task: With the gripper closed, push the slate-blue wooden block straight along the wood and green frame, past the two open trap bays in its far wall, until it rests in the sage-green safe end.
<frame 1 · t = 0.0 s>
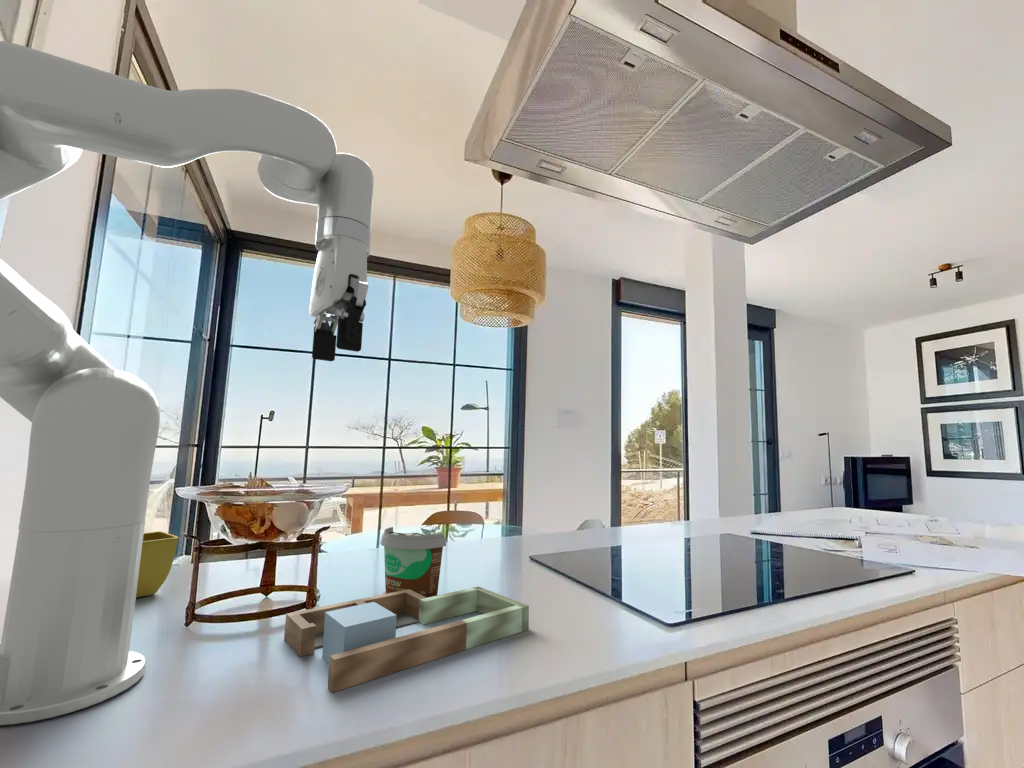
hand: (335, 355, 66), 37 cm above the worktop, tool pointing down, fingers open, 9 cm apart
flower pot: (130, 597, 74), on the worktop
block: (358, 660, 53), on the worktop
wood and green frame: (413, 642, 57), on the worktop
food container: (402, 596, 76), on the worktop
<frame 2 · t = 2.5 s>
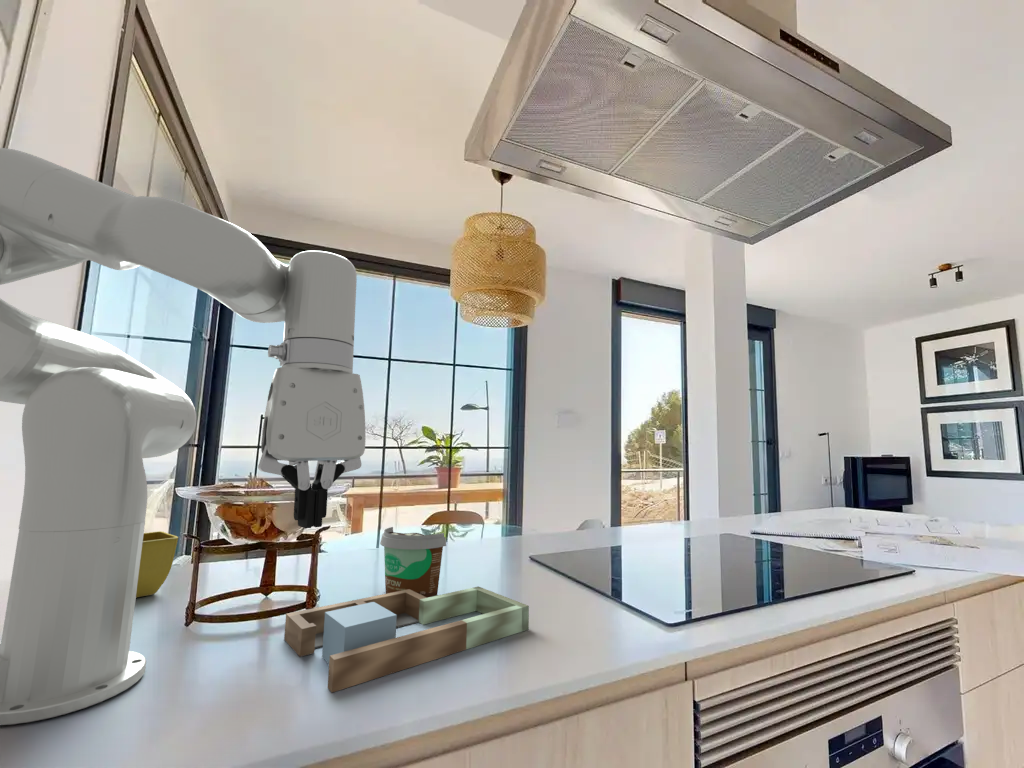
hand: (309, 525, 51), 15 cm above the worktop, tool pointing down, fingers closed
nothing on the worktop moved.
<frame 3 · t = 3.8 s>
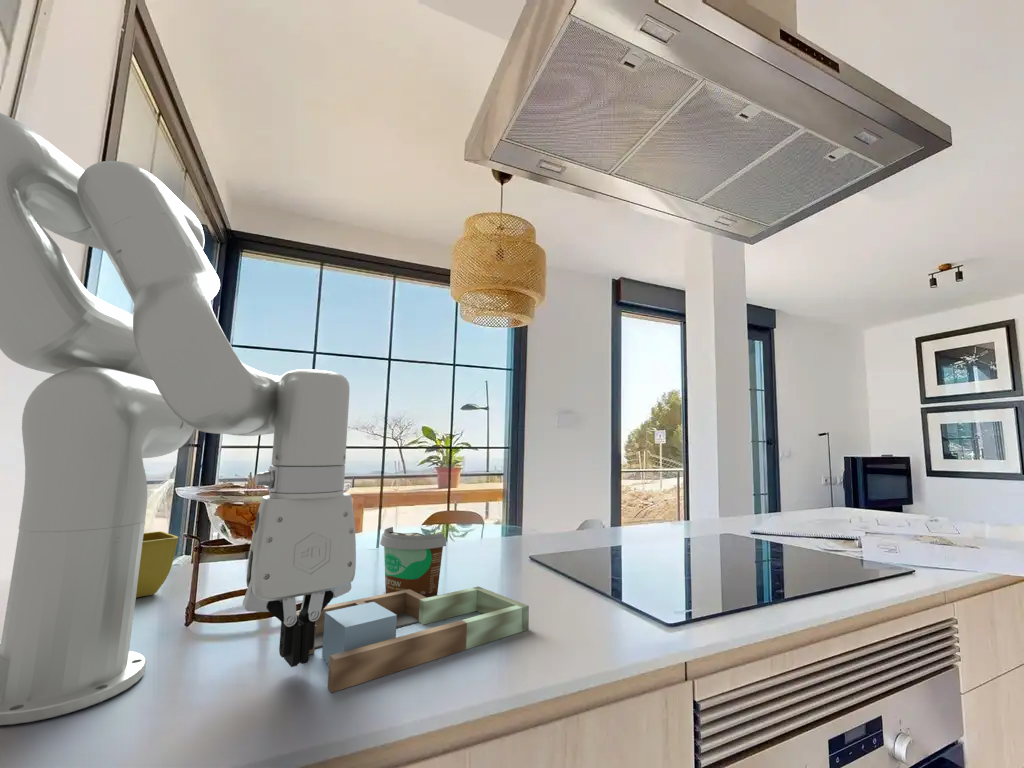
hand: (295, 660, 49), 2 cm above the worktop, tool pointing down, fingers closed
nothing on the worktop moved.
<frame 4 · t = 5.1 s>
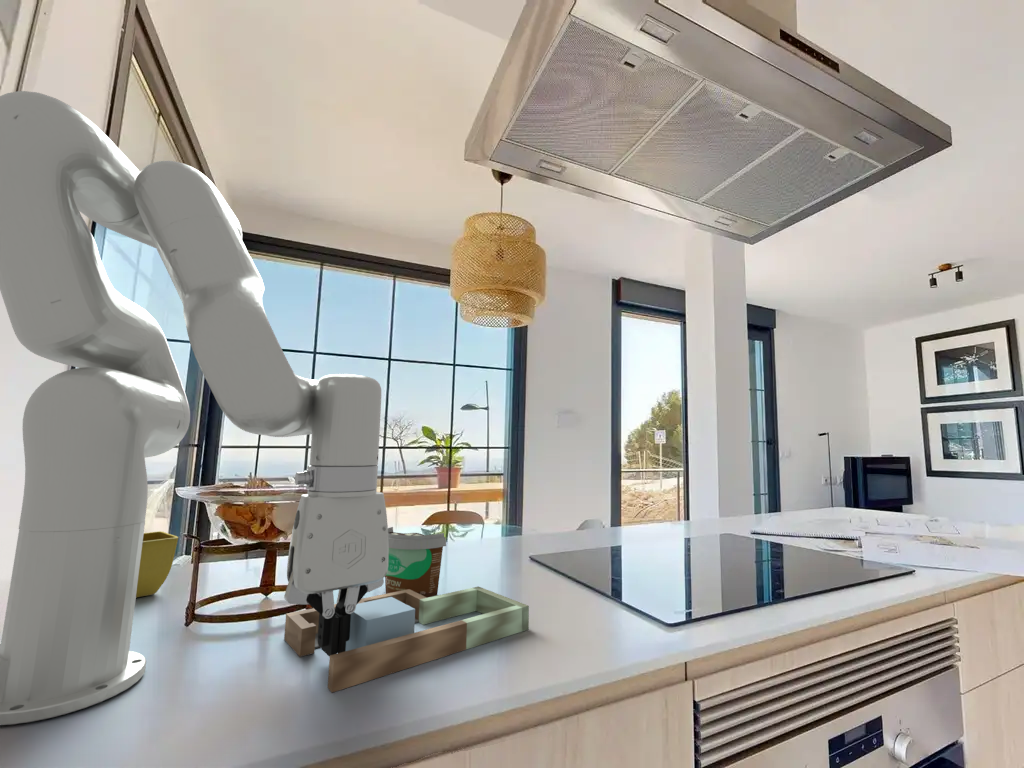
hand: (332, 650, 51), 2 cm above the worktop, tool pointing down, fingers closed
block: (377, 652, 55), on the worktop, touching gripper
everything else where it was.
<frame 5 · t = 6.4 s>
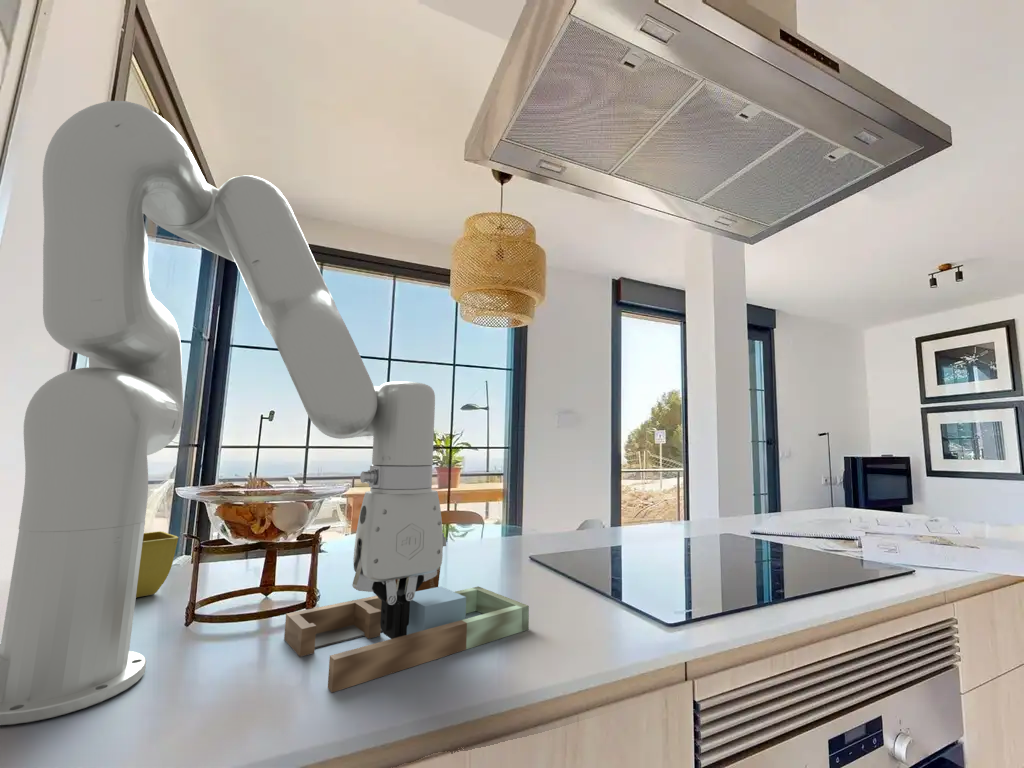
hand: (394, 634, 56), 2 cm above the worktop, tool pointing down, fingers closed
block: (432, 636, 59), on the worktop, touching gripper
everything else where it was.
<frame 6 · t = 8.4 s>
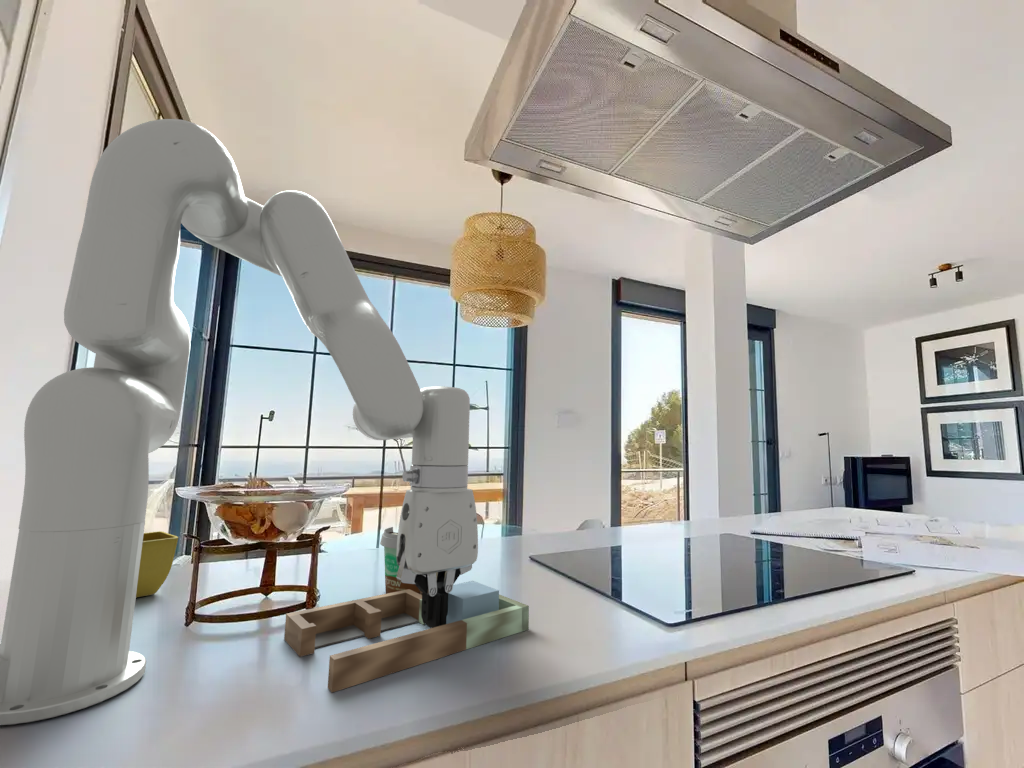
hand: (434, 624, 60), 1 cm above the worktop, tool pointing down, fingers closed
block: (467, 628, 63), on the worktop, touching gripper
everything else where it was.
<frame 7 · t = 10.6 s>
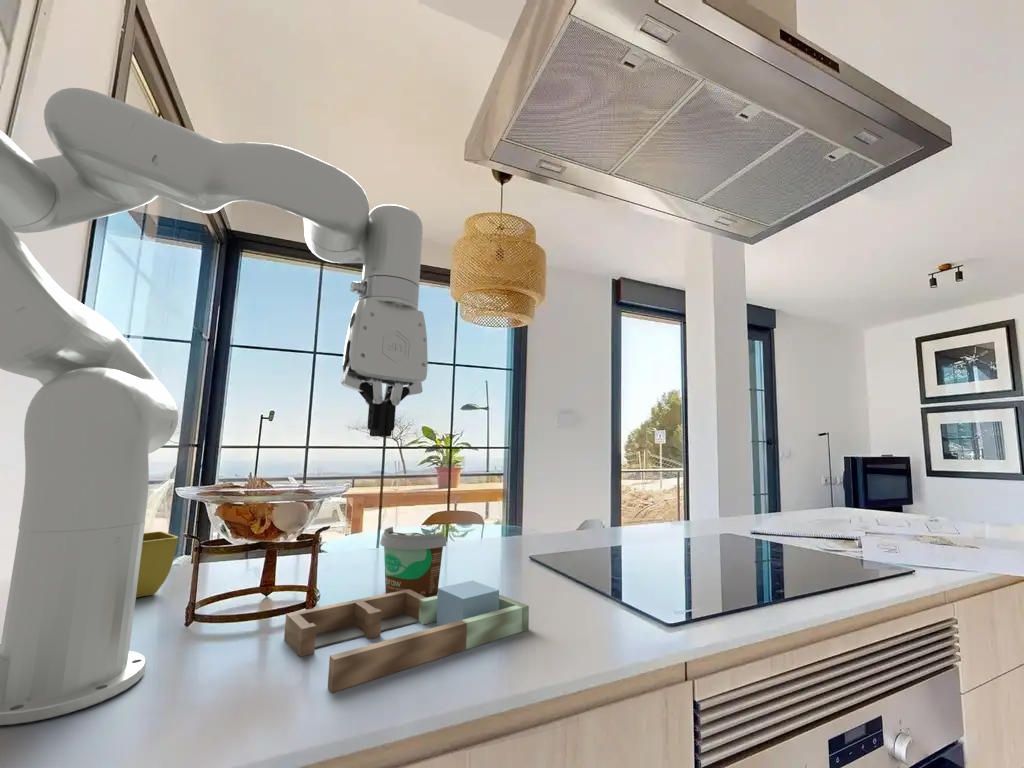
hand: (380, 436, 60), 25 cm above the worktop, tool pointing down, fingers closed
block: (467, 627, 63), on the worktop
everything else where it was.
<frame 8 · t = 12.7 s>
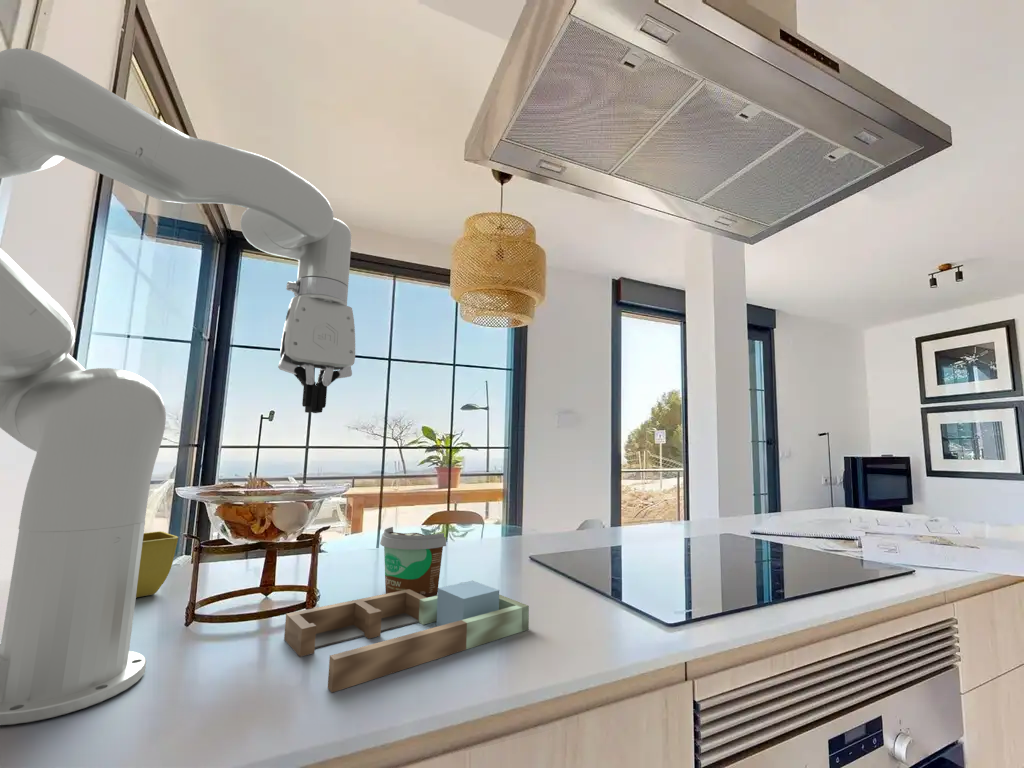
hand: (313, 412, 71), 29 cm above the worktop, tool pointing down, fingers closed
nothing on the worktop moved.
at the end: block inside the target area (0.6 cm from its centre), on the worktop; block tilted 0° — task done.
